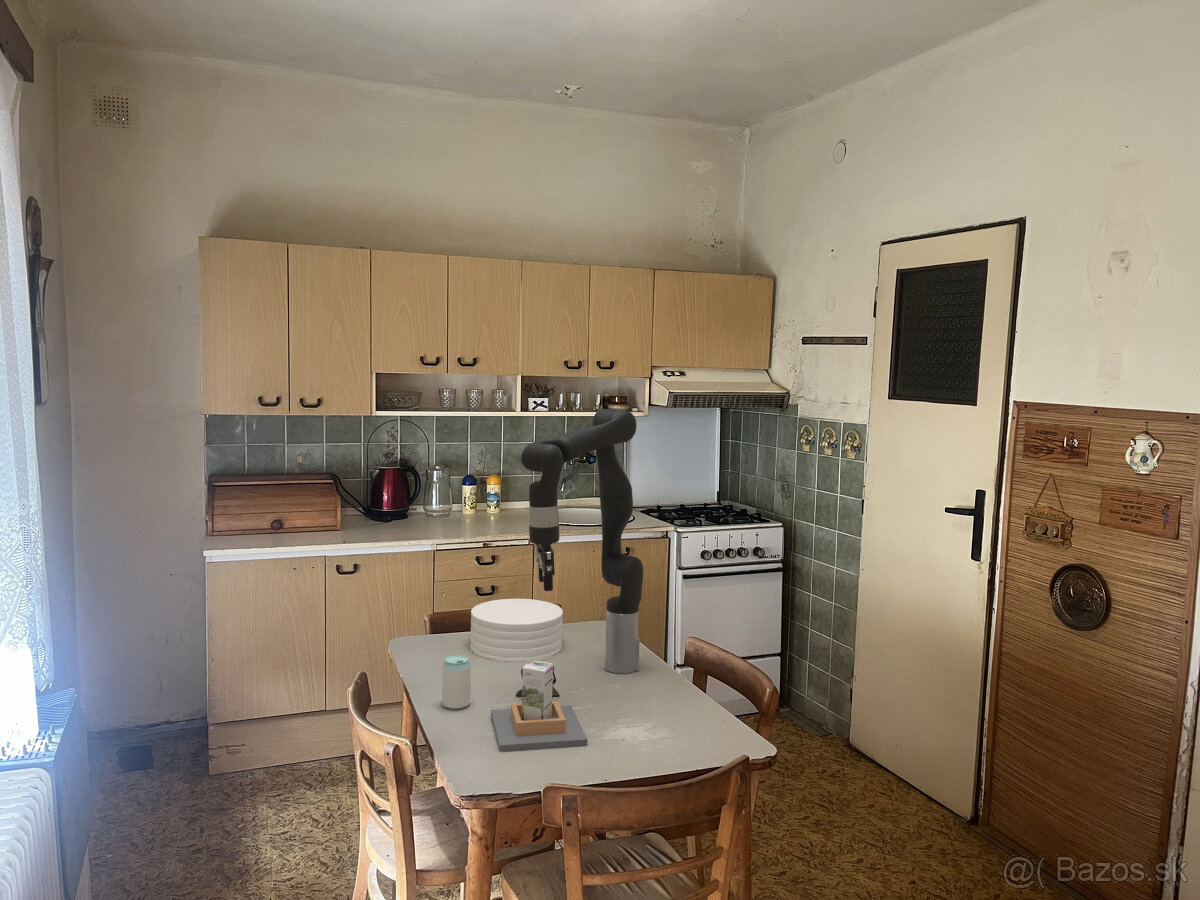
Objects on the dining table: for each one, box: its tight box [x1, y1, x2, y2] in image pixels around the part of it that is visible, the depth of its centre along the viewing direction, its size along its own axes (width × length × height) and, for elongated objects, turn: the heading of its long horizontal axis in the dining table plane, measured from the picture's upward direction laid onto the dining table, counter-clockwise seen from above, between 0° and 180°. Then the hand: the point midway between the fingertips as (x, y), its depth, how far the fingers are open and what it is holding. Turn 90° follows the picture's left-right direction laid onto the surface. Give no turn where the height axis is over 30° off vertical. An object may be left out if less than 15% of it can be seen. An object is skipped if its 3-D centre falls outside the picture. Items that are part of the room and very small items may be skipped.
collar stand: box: [490, 700, 588, 752], centre depth 199 cm, size 20×20×4 cm
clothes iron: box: [515, 665, 561, 699], centre depth 221 cm, size 7×11×10 cm, turn 112°
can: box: [441, 655, 472, 710], centre depth 213 cm, size 7×7×12 cm
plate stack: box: [470, 598, 564, 662], centre depth 260 cm, size 28×28×12 cm
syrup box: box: [521, 660, 554, 721], centre depth 199 cm, size 6×6×14 cm
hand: (545, 586), depth 213 cm, fingers open, 8 cm apart
